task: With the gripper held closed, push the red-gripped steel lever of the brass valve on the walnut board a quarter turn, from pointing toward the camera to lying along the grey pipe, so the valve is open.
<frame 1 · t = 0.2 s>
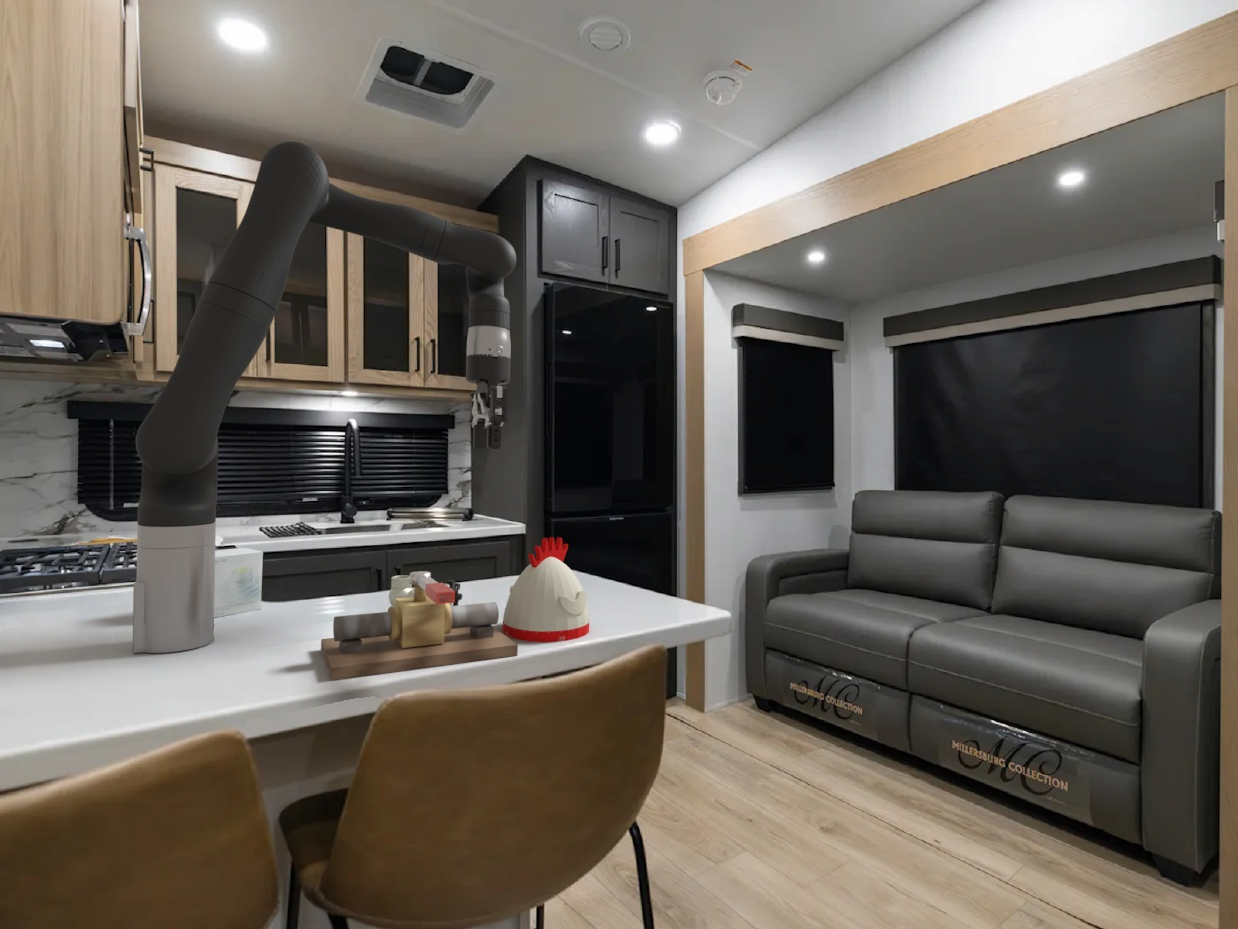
hand: (486, 448, 114), 29 cm above the countertop, tool pointing down, fingers open, 8 cm apart
valve lever: (430, 586, 86), point 11 cm above the countertop, hinge at 90.0°
valve pipe: (418, 652, 92), on the countertop
skincare box: (222, 613, 112), on the countertop
kitchen timer: (546, 631, 106), on the countertop
valve: (421, 617, 113), on the countertop
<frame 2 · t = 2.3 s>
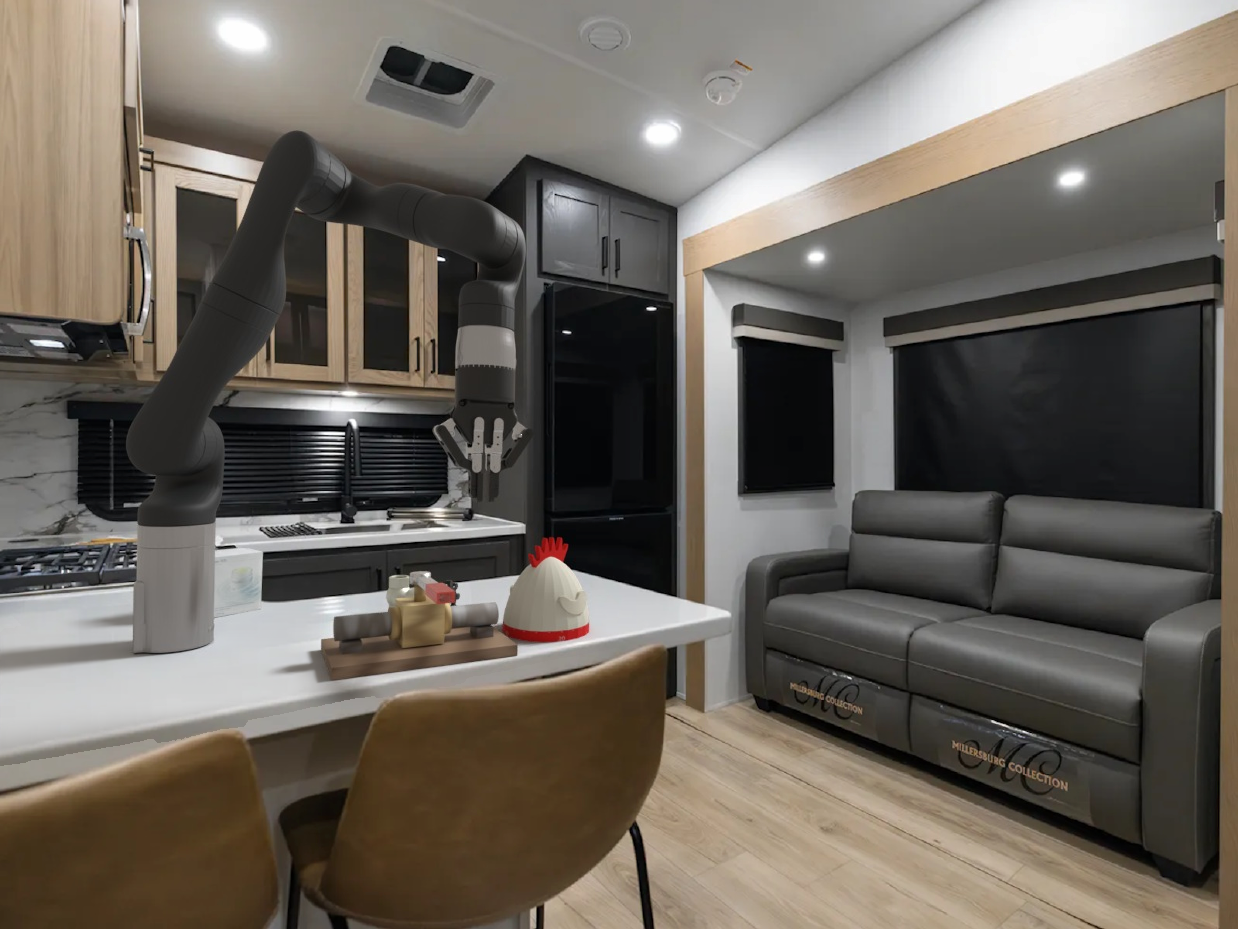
hand: (482, 501, 84), 22 cm above the countertop, tool pointing down, fingers closed
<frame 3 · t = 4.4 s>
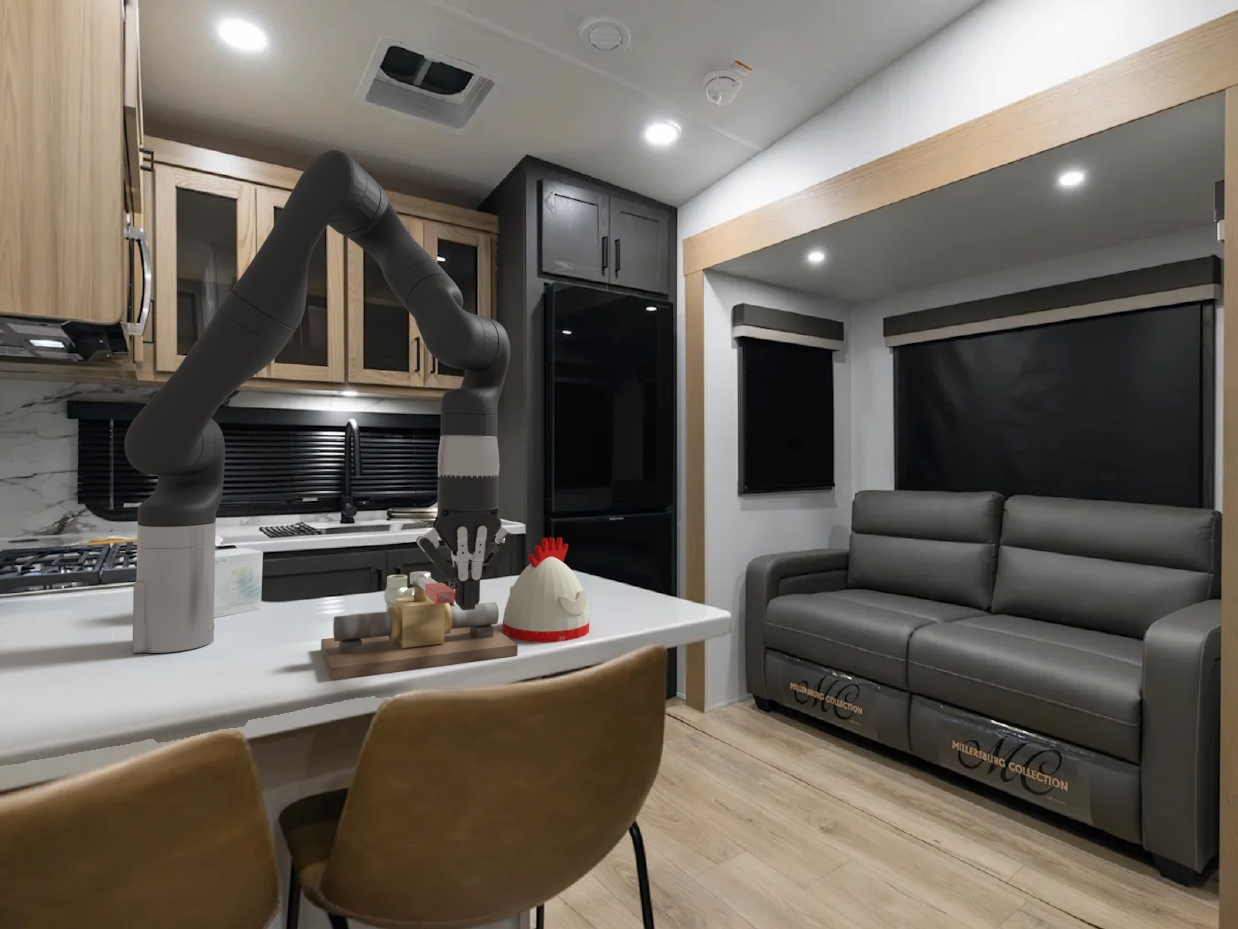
hand: (466, 608, 83), 8 cm above the countertop, tool pointing down, fingers closed
valve lever: (430, 586, 86), point 11 cm above the countertop, hinge at 89.8°, touching gripper
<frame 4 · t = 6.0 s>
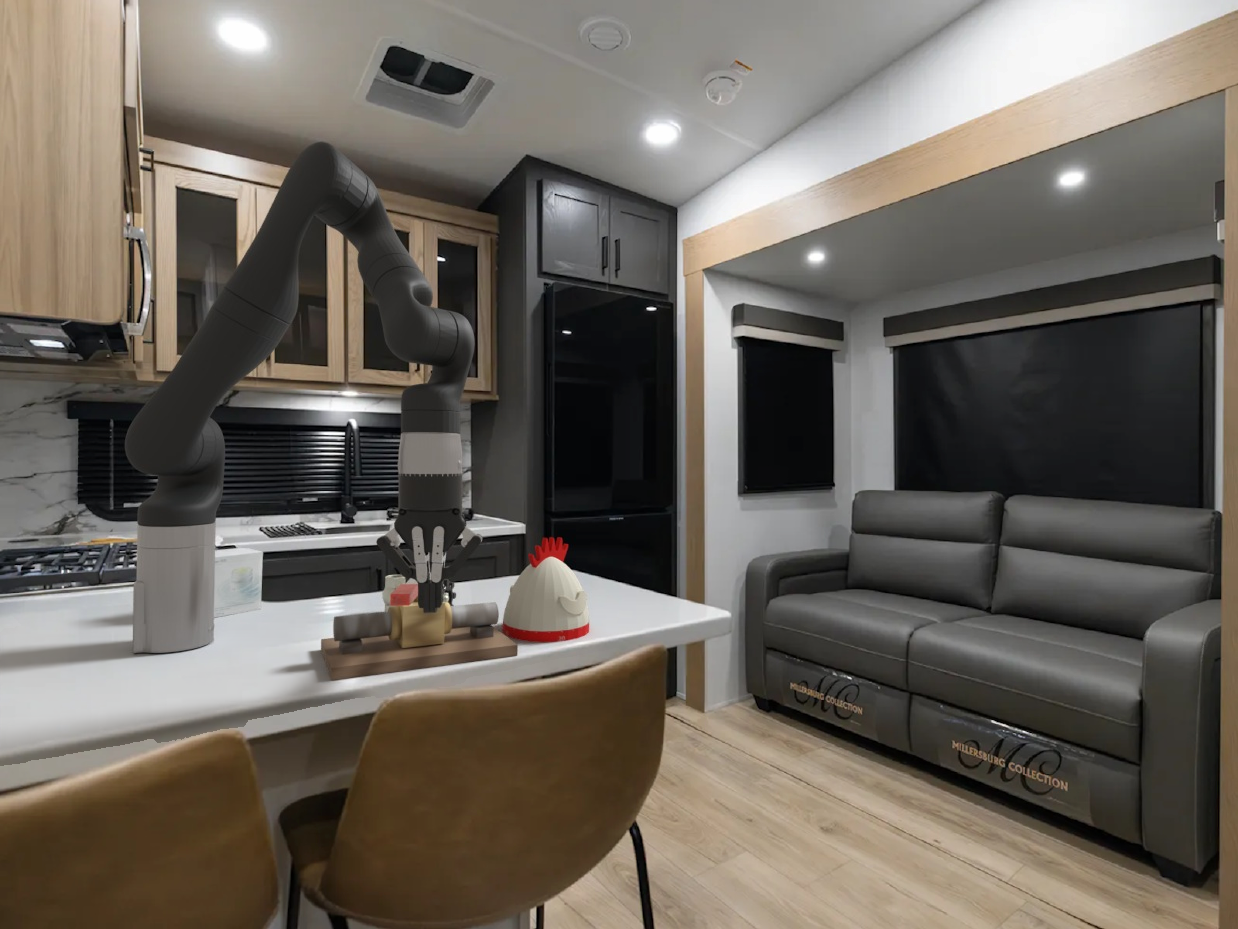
hand: (430, 611, 81), 9 cm above the countertop, tool pointing down, fingers closed
valve lever: (412, 586, 86), point 11 cm above the countertop, hinge at 68.1°, touching gripper
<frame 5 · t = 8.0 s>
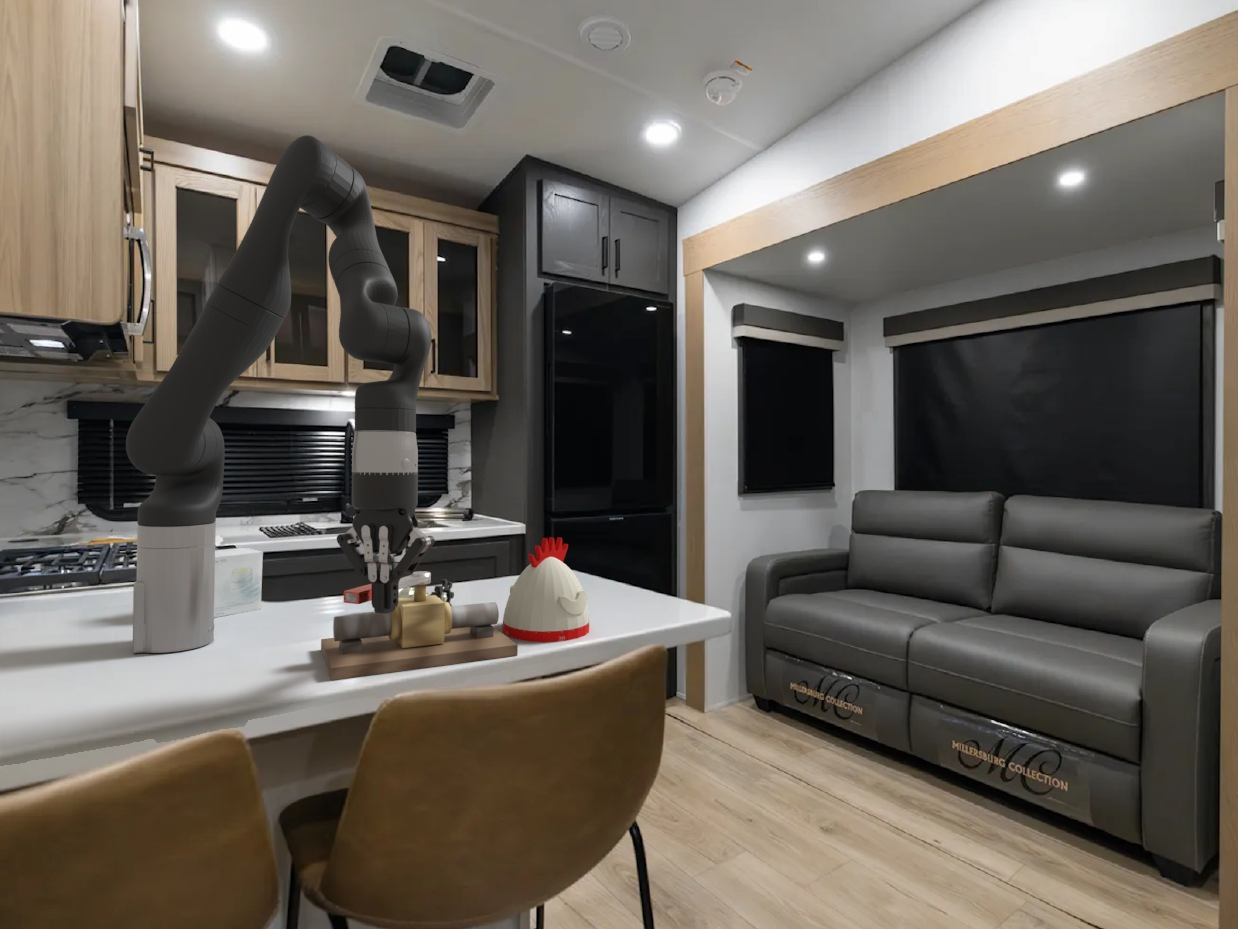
hand: (384, 611, 80), 9 cm above the countertop, tool pointing down, fingers closed
valve lever: (391, 586, 86), point 11 cm above the countertop, hinge at 43.2°, touching gripper
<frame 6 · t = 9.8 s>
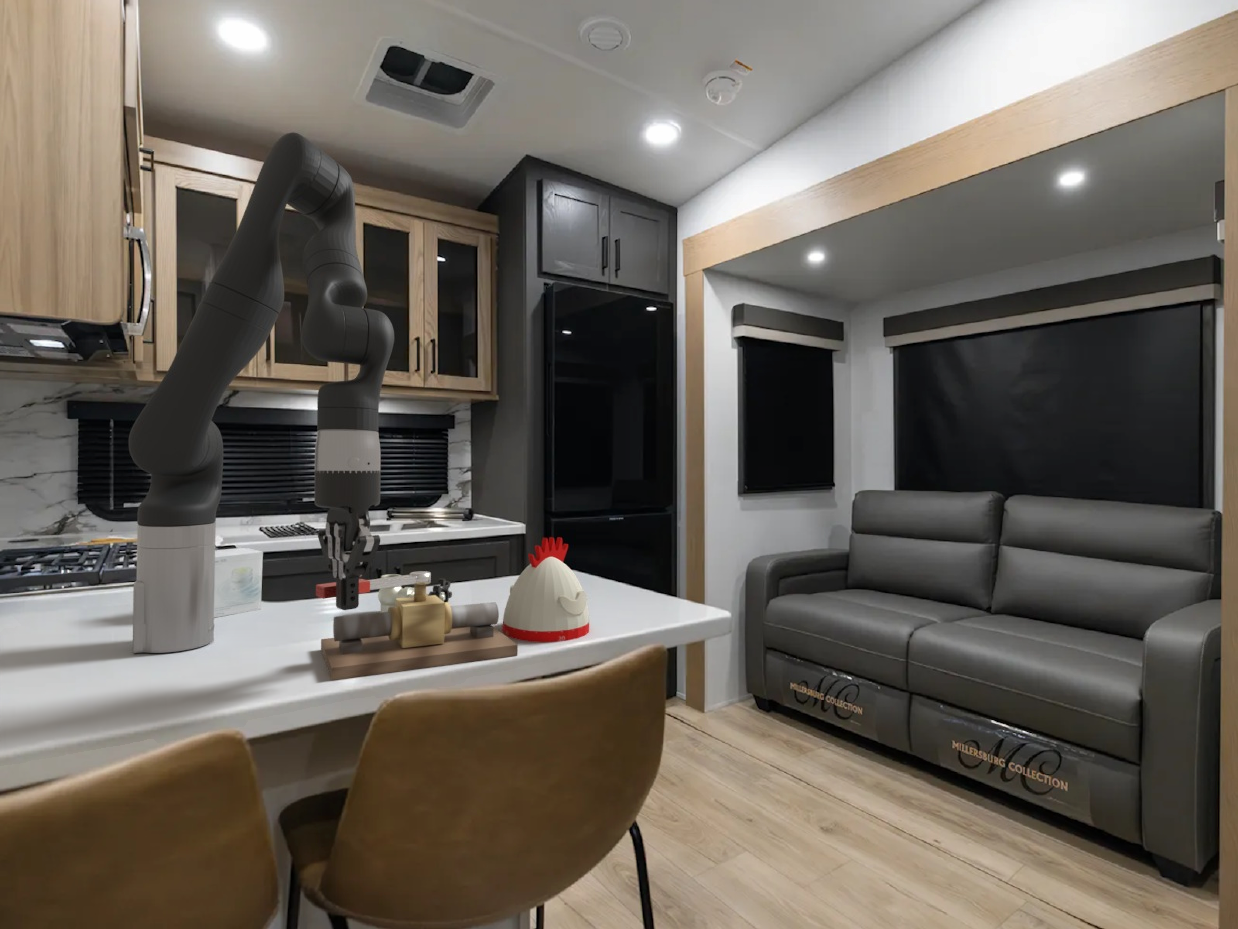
hand: (347, 608, 81), 9 cm above the countertop, tool pointing down, fingers closed
valve lever: (378, 583, 87), point 11 cm above the countertop, hinge at 18.9°, touching gripper
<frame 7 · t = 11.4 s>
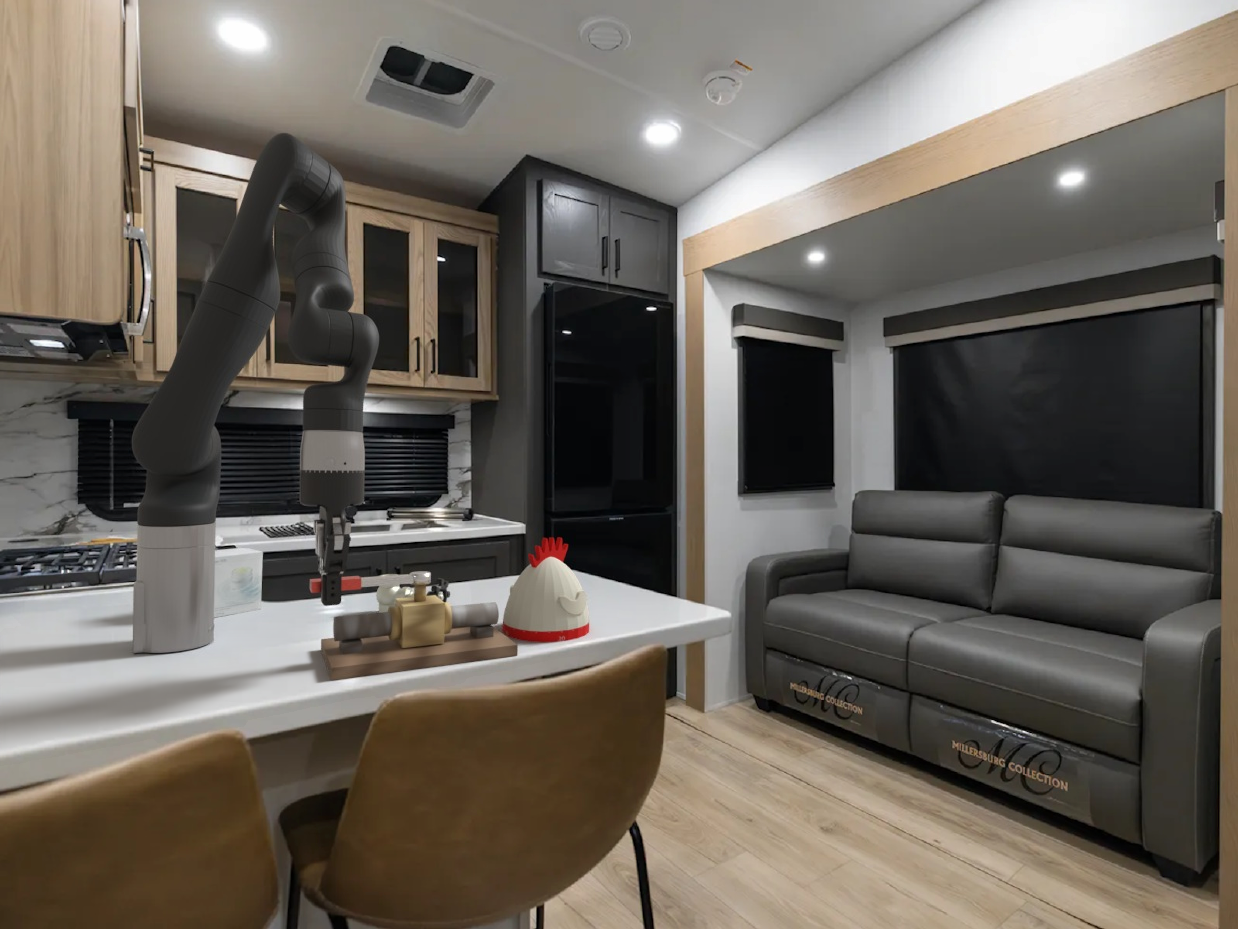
hand: (331, 604, 83), 9 cm above the countertop, tool pointing down, fingers closed
valve lever: (373, 581, 89), point 11 cm above the countertop, hinge at 1.5°, touching gripper
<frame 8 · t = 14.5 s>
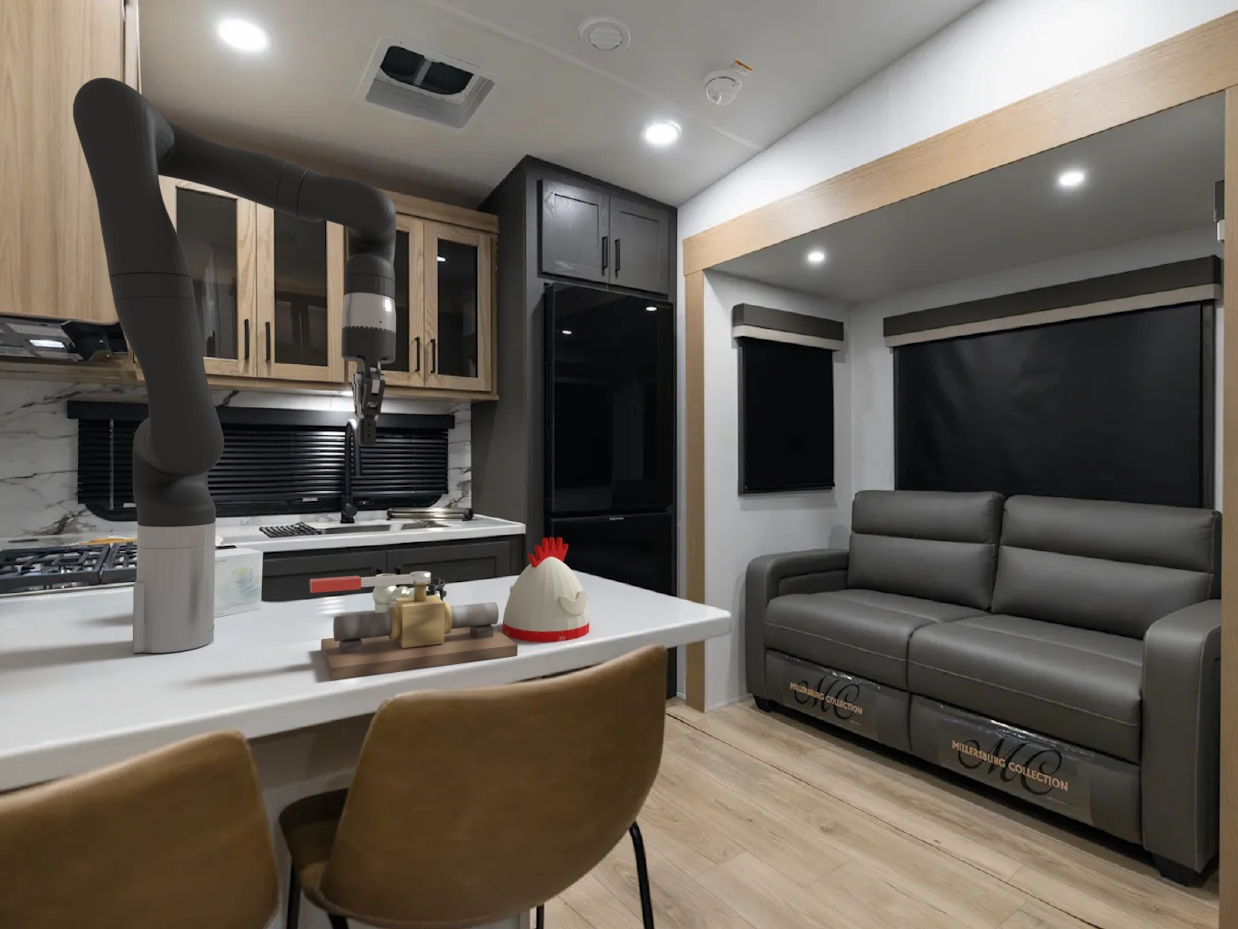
hand: (366, 445, 98), 29 cm above the countertop, tool pointing down, fingers closed
valve lever: (373, 581, 89), point 11 cm above the countertop, hinge at 1.2°
at the end: valve lever at +1° (first picture: +90°); kitchen timer moved 0.3 cm from its start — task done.
